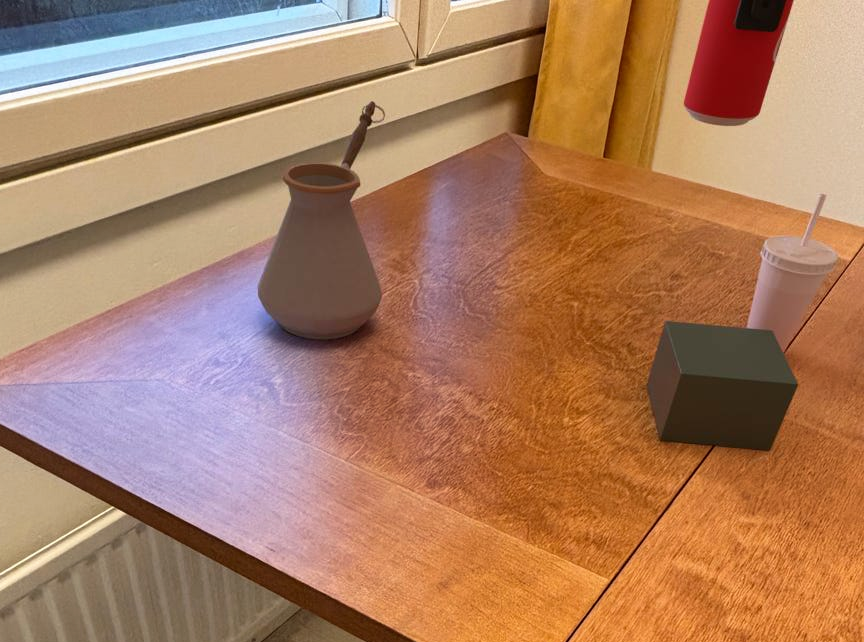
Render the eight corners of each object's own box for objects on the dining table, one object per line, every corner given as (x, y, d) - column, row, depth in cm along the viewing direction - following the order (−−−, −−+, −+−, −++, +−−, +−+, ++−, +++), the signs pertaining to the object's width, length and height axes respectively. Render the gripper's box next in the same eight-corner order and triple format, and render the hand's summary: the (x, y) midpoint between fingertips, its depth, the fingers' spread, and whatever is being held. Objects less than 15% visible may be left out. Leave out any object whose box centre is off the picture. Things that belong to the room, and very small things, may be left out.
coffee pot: (359, 359, 79) (366, 179, 69) (239, 336, 81) (228, 157, 70) (420, 268, 94) (433, 108, 83) (317, 249, 96) (317, 90, 85)
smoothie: (804, 349, 85) (869, 196, 76) (785, 375, 82) (850, 217, 72) (739, 329, 88) (794, 177, 78) (718, 353, 84) (772, 197, 74)
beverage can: (762, 115, 76) (817, -63, 67) (749, 134, 72) (806, -53, 63) (689, 103, 78) (733, -73, 69) (672, 120, 74) (718, -63, 65)
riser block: (747, 394, 79) (772, 330, 75) (770, 450, 72) (798, 384, 68) (646, 385, 79) (665, 320, 75) (659, 440, 73) (681, 373, 68)
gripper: (945, -320, 51) (821, 50, 64) (862, -306, 63) (772, 2, 76) (812, -328, 51) (715, 41, 64) (755, -313, 63) (683, -5, 76)
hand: (746, 17), depth 70 cm, fingers closed on beverage can, 6 cm apart
